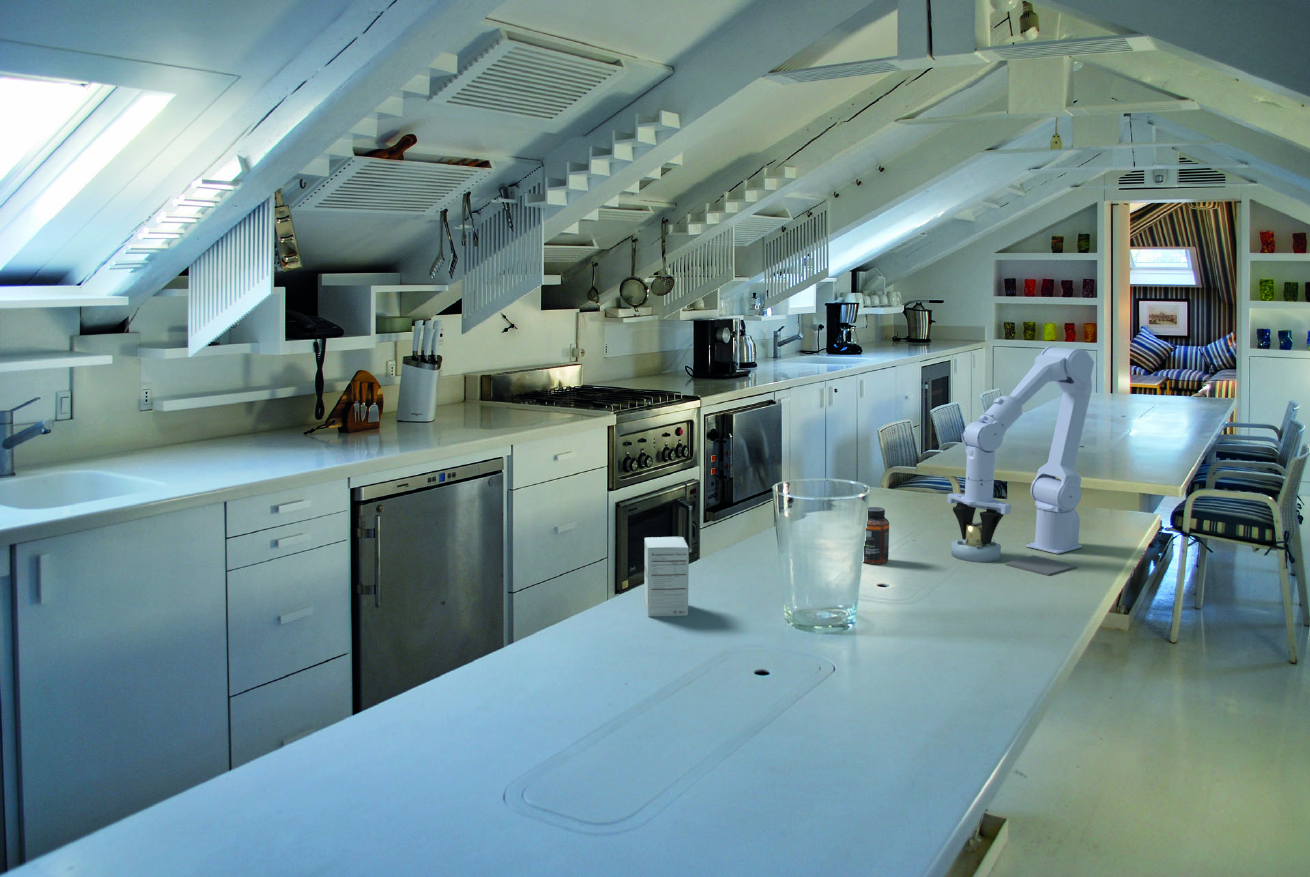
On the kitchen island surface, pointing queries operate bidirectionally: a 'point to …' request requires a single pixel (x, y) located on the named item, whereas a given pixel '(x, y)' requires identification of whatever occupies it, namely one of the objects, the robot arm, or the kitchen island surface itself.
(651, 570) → the supplement box
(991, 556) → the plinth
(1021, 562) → the mat
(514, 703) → the kitchen island surface
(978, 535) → the knob
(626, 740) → the kitchen island surface
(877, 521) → the supplement bottle
